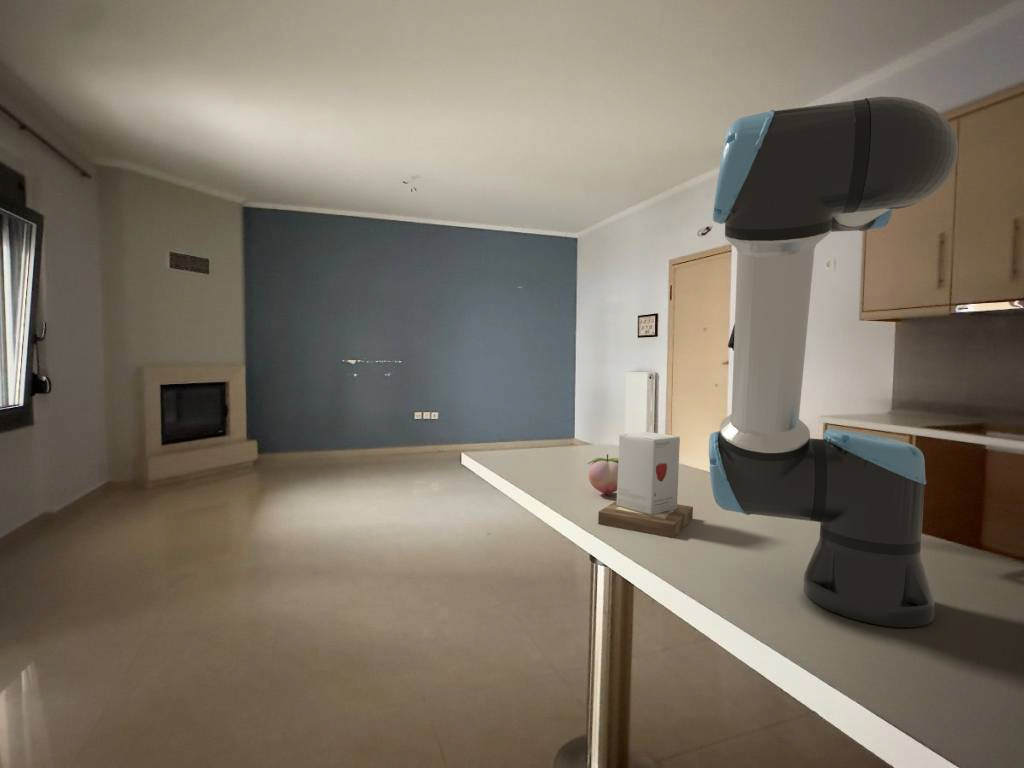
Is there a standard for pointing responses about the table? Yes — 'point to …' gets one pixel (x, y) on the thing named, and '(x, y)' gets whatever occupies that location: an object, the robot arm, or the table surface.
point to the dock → (646, 519)
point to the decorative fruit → (604, 474)
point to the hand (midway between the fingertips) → (759, 383)
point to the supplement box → (648, 472)
